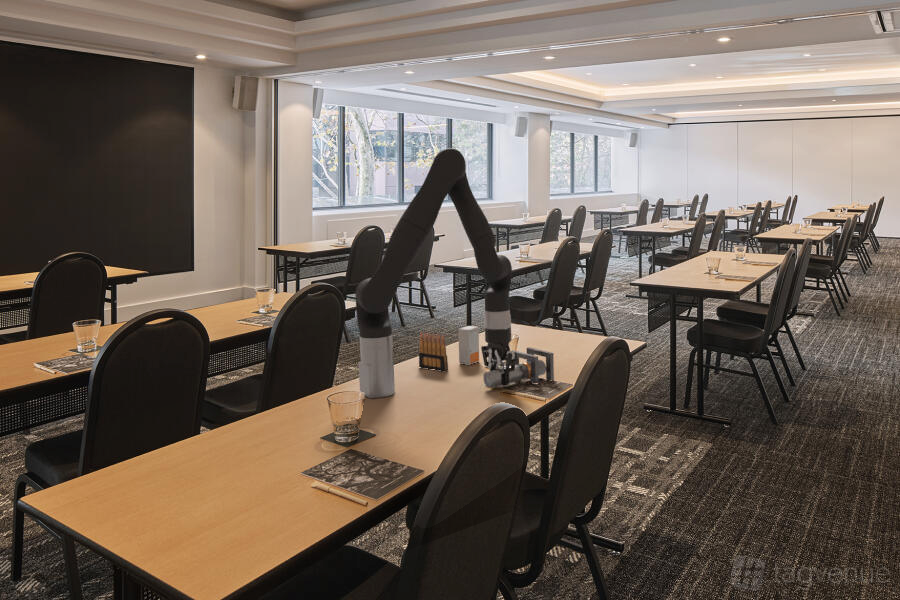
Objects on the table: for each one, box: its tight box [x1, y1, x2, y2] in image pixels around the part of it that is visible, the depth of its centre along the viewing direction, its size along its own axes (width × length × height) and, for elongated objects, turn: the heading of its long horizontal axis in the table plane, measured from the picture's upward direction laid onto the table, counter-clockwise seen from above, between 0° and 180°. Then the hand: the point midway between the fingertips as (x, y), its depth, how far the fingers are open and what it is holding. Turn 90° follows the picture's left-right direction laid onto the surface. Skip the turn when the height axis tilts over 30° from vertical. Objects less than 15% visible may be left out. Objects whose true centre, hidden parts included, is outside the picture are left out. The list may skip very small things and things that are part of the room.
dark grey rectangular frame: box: [526, 346, 555, 382], centre depth 222 cm, size 1×11×8 cm, turn 35°
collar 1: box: [511, 350, 540, 383], centre depth 218 cm, size 1×11×8 cm, turn 35°
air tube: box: [482, 359, 546, 389], centre depth 216 cm, size 20×5×5 cm, turn 125°
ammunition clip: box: [418, 331, 449, 372], centre depth 236 cm, size 11×2×12 cm, turn 52°
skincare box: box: [457, 325, 480, 366], centre depth 242 cm, size 6×4×12 cm
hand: (499, 383), depth 213 cm, fingers closed on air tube, 4 cm apart
